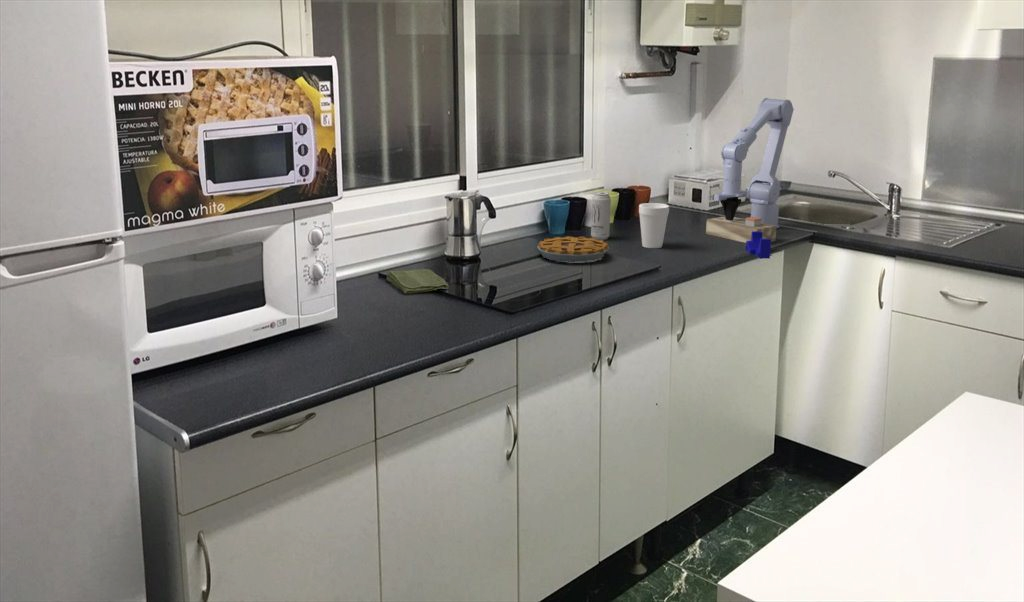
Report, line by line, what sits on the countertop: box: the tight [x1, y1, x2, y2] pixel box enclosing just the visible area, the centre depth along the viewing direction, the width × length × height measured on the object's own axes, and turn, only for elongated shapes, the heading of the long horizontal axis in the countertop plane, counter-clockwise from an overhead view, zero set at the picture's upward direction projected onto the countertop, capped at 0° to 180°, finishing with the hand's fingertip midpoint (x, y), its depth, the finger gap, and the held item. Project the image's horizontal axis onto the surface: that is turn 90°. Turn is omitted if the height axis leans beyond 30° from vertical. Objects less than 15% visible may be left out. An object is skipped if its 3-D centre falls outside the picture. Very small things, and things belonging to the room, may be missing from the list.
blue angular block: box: [745, 231, 772, 259], centre depth 304 cm, size 12×4×6 cm, turn 0°
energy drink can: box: [590, 191, 611, 241], centre depth 322 cm, size 6×6×15 cm
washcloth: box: [386, 268, 449, 295], centre depth 266 cm, size 13×18×3 cm
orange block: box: [745, 216, 762, 227], centre depth 322 cm, size 4×4×5 cm
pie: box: [536, 235, 610, 262], centre depth 299 cm, size 22×22×5 cm
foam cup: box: [638, 202, 670, 249], centre depth 312 cm, size 10×9×13 cm
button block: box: [705, 215, 777, 244], centre depth 327 cm, size 10×21×5 cm, turn 37°
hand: (729, 220), depth 330 cm, fingers closed, pressing on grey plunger
